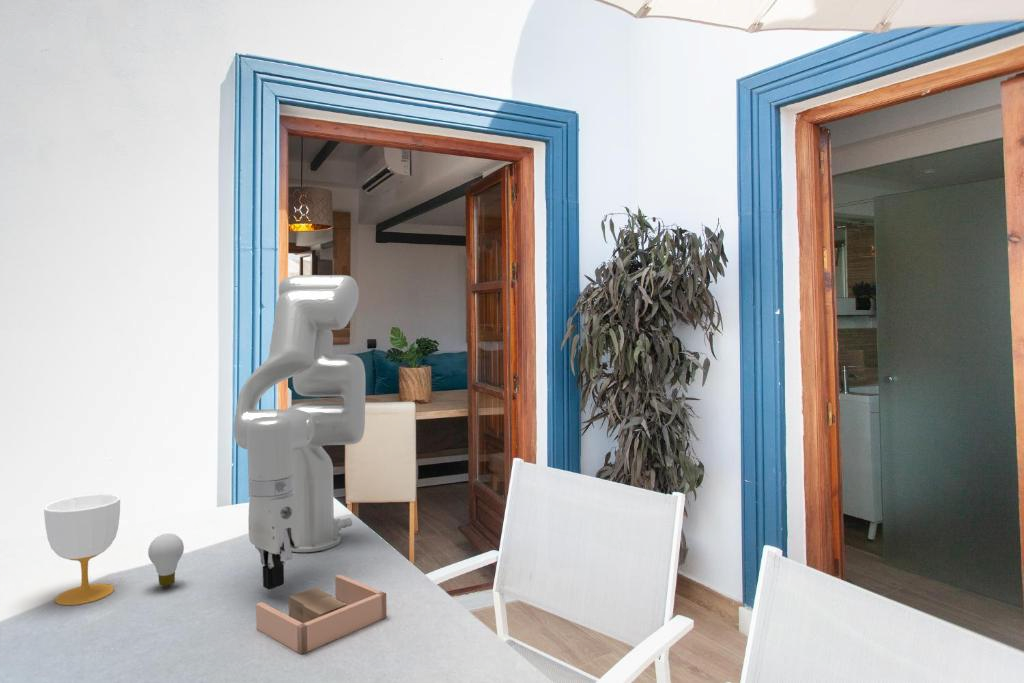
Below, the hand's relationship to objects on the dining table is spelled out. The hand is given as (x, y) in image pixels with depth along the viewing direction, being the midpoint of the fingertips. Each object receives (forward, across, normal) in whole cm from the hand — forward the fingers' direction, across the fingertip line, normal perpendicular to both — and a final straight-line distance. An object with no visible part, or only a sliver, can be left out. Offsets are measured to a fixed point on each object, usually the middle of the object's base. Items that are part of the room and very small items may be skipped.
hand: (273, 586), depth 118 cm
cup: (+2, +28, +22) cm, 35 cm away
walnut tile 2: (+2, -17, +1) cm, 17 cm away
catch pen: (+2, -16, +1) cm, 16 cm away
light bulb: (+2, +19, +10) cm, 22 cm away
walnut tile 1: (+2, -12, 0) cm, 12 cm away
